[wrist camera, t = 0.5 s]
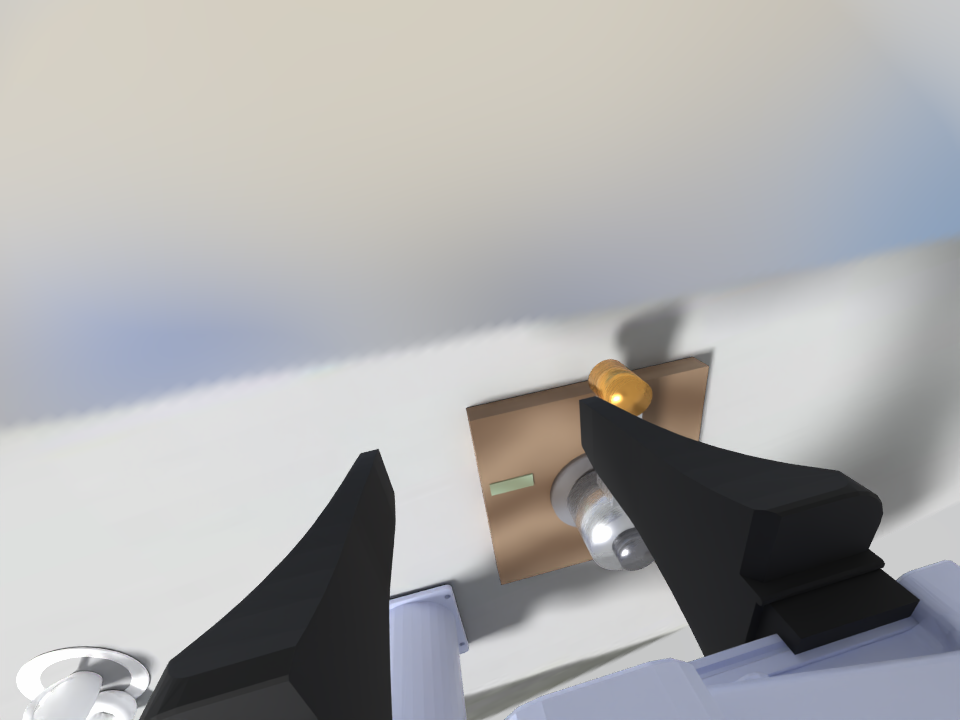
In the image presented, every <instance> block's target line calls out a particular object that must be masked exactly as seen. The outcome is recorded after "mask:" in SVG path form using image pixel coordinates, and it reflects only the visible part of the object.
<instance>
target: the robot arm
mask: <svg viewBox="0 0 960 720" xmlns="http://www.w3.org/2000/svg"><path fill="white" fill-rule="evenodd" d="M579 409H580V428H581V445H582V447H583V449H584V451H585V453H586V455H587V457H588V459H589V461H590V463H591V464H592V466H593V468H594V470H595V471H596V473H597V474H598V475H599V477H600V478H601V480H602V481H603V483H604V484H605V485H606V487H607V488H608V490H609V491H610V492H611V494H612V495H613V497H614V498H615V499H616V501H617V502H618V504H619V505H620V506H621V508H622V509H623V511H624V512H625V513H626V515H627V516H628V517H629V519H630V520H631V522H632V523H633V525H634V526H635V528H636V529H637V531H638V533H639V534H640V536H641V538H642V539H643V541H644V543H645V545H646V546H647V548H648V550H649V552H650V553H651V555H652V557H653V558H654V560H655V562H656V564H657V566H658V568H659V569H660V571H661V573H662V575H663V577H664V578H665V580H666V582H667V584H668V586H669V588H670V589H671V591H672V593H673V595H674V597H675V599H676V601H677V603H678V605H679V607H680V609H681V611H682V613H683V614H684V616H685V618H686V620H687V622H688V624H689V626H690V628H691V630H692V632H693V634H694V636H695V638H696V640H697V642H698V644H699V646H700V648H701V650H702V652H703V655H704V657H703V658H700V659H696V660H693V661H690V662H684V661H680V660H676V659H673V658H667V659H661V660H655V661H649V662H646V663H643V664H640V665H637V666H634V667H631V668H628V669H625V670H622V671H618V672H615V673H612V674H609V675H606V676H603V677H600V678H596V679H594V680H590V681H587V682H584V683H581V684H578V685H575V686H572V687H568V688H565V689H562V690H559V691H556V692H553V693H550V694H547V695H543V696H540V697H538V698H536V699H534V700H532V701H530V702H527V703H525V704H524V705H521V706H519V707H517V708H516V709H515V710H514V711H513V712H512V713H511V714H510V715H509V716H507V718H505V719H504V720H960V566H958V565H957V564H956V563H954V562H953V561H950V560H943V561H940V562H937V563H934V564H931V565H928V566H924V567H921V568H918V569H915V570H912V571H909V572H907V573H905V574H903V575H902V576H901V577H899V578H898V579H897V580H894V579H893V578H892V577H890V576H889V575H888V574H887V573H885V572H884V571H883V570H882V569H880V568H883V567H884V565H885V563H884V561H883V560H882V559H881V558H880V557H878V556H877V555H875V553H873V552H872V551H871V550H869V547H870V544H871V542H872V540H873V538H874V535H875V533H876V531H877V529H878V527H879V524H880V522H881V518H882V515H883V508H882V502H881V500H880V499H879V497H878V496H877V495H876V494H874V493H873V492H871V491H870V490H868V489H866V488H865V487H863V486H862V485H860V484H859V483H857V482H856V481H854V480H852V479H851V478H849V477H848V476H846V475H845V474H843V473H842V472H840V471H836V470H829V469H822V468H815V467H808V466H801V465H794V464H788V463H783V462H778V461H773V460H767V459H762V458H758V457H753V456H749V455H745V454H741V453H737V452H733V451H729V450H725V449H722V448H718V447H715V446H711V445H708V444H705V443H702V442H699V441H696V440H693V439H690V438H687V437H684V436H682V435H679V434H676V433H674V432H672V431H669V430H667V429H664V428H662V427H659V426H657V425H655V424H653V423H650V422H648V421H646V420H644V419H642V418H639V417H637V416H635V415H633V414H631V413H629V412H627V411H625V410H623V409H621V408H619V407H617V406H615V405H613V404H611V403H609V402H607V401H605V400H603V399H601V398H598V397H596V396H593V397H589V398H585V399H581V400H579ZM395 522H396V519H395V495H394V491H393V488H392V485H391V482H390V480H389V477H388V474H387V471H386V468H385V466H384V463H383V460H382V457H381V455H380V452H379V449H377V450H372V451H368V452H364V453H361V454H360V455H359V457H358V458H357V460H356V461H355V463H354V464H353V466H352V468H351V469H350V471H349V472H348V474H347V476H346V477H345V479H344V480H343V482H342V484H341V485H340V487H339V488H338V490H337V491H336V493H335V494H334V496H333V497H332V499H331V500H330V502H329V503H328V505H327V506H326V508H325V509H324V510H323V512H322V513H321V515H320V516H319V517H318V519H317V520H316V521H315V523H314V524H313V525H312V527H311V528H310V529H309V531H308V532H307V533H306V534H305V535H304V537H303V538H302V539H301V540H300V541H299V543H298V544H297V545H296V546H295V547H294V548H293V550H292V551H291V552H290V553H289V554H288V555H287V556H286V557H285V558H284V559H283V561H282V562H281V563H280V564H279V565H278V566H277V567H276V568H275V569H274V570H273V571H272V572H271V573H270V574H269V575H268V576H267V577H266V578H265V579H264V580H263V581H262V582H261V583H260V584H259V585H258V586H257V587H256V588H255V589H254V590H253V591H252V592H251V593H250V594H249V595H248V596H247V597H245V598H244V599H243V600H242V601H241V602H240V603H239V604H238V605H237V606H236V607H234V608H233V609H232V610H231V611H230V612H229V613H228V614H227V615H225V616H224V617H223V618H222V619H221V620H220V621H218V622H217V623H216V624H215V625H214V626H213V627H211V628H210V629H209V630H208V631H206V632H205V633H204V634H203V635H201V636H200V637H199V638H198V639H197V640H195V641H194V642H193V643H192V644H190V645H189V646H188V647H187V648H185V649H184V650H183V651H182V652H180V653H179V654H178V655H177V656H175V657H174V658H173V659H171V660H170V661H169V663H168V665H167V667H166V669H165V670H164V672H163V674H162V676H161V678H160V680H159V682H158V684H157V686H156V688H155V690H154V692H153V694H152V696H151V698H150V699H149V701H148V703H147V705H146V707H145V709H144V711H143V713H142V715H141V717H140V719H139V720H467V718H466V709H465V701H464V692H463V683H462V674H461V665H460V656H459V654H462V653H465V652H467V651H468V650H469V645H468V641H467V638H466V634H465V631H464V628H463V624H462V621H461V617H460V614H459V610H458V607H457V603H456V600H455V597H454V593H453V590H452V587H451V586H450V585H443V586H439V587H436V588H432V589H428V590H425V591H421V592H417V593H414V594H410V595H406V596H403V597H399V598H395V599H392V600H389V599H390V582H391V570H392V559H393V547H394V535H395Z"/></svg>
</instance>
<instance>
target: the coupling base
mask: <svg viewBox="0 0 960 720" xmlns="http://www.w3.org/2000/svg"><path fill="white" fill-rule="evenodd" d="M708 369H709V366H708V365H706V364H705V363H703V362H701V361H699V360H697V359H696V358H694V357H690V358H686V359H681V360H677V361H672V362H668V363H664V364H659V365H655V366H650V367H646V368H642V369H637V370H633V371H632V372H633V373H634V374H636V375H637V376H638V377H639V378H641V379H642V380H643V381H645V382H646V383H647V384H648V385H649V386H650V387H651V389H652V400H651V403H650V405H649V406H648V408H647V409H646V410H645V411H644V412H643V413H642V419H644V420H646V421H648V422H650V423H653V424H655V425H657V426H659V427H662V428H664V429H667V430H669V431H672V432H674V433H676V434H679V435H682V436H684V437H687V438H690V439H693V440H696V441H699V433H700V426H701V419H702V412H703V405H704V398H705V391H706V384H707V377H708ZM593 396H596V394H595V393H594V392H593V391H592V390H591V388H590V387H589V383H588V381H584V382H580V383H575V384H571V385H567V386H562V387H558V388H553V389H549V390H545V391H540V392H536V393H531V394H527V395H522V396H518V397H514V398H509V399H505V400H500V401H496V402H492V403H487V404H483V405H478V406H474V407H470V408H466V410H467V416H468V421H469V426H470V431H471V436H472V441H473V446H474V451H475V456H476V461H477V467H478V472H479V477H480V482H481V487H482V492H483V497H484V502H485V507H486V512H487V517H488V523H489V528H490V533H491V538H492V543H493V548H494V553H495V558H496V563H497V568H498V572H499V577H500V581H501V585H503V584H507V583H511V582H514V581H518V580H521V579H525V578H529V577H532V576H536V575H539V574H543V573H546V572H550V571H554V570H557V569H561V568H564V567H568V566H572V565H575V564H579V563H582V562H586V561H590V560H593V558H592V556H591V554H590V552H589V550H588V548H587V546H586V544H585V542H584V540H583V538H582V536H581V534H580V532H579V531H578V529H577V527H576V525H575V523H574V521H573V519H572V517H571V515H570V513H569V511H568V508H567V498H568V495H569V493H570V491H571V489H572V488H573V486H574V485H575V484H576V483H577V482H578V481H579V480H580V479H581V478H582V477H584V476H585V475H587V474H588V473H590V472H592V471H595V470H594V468H593V466H592V464H591V463H590V461H589V459H588V457H587V455H586V453H585V451H584V449H583V447H582V445H581V428H580V409H579V400H581V399H585V398H589V397H593Z"/></svg>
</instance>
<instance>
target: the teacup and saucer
mask: <svg viewBox="0 0 960 720" xmlns="http://www.w3.org/2000/svg"><path fill="white" fill-rule="evenodd" d="M74 657H98V658H104V659H108V660H112V661H114V662H117V663H119V664H121V665H123V666H124V667H125V668H127V669H128V670H129V672H130V673H131V676H132V681H131V684H130V685H129V687H128V688H127V689H126V690H124V691H118V690H109V691H104V692H100V689H101V685H102V677H101V676H100V675H99V674H97V673H94V672H89V671H81V672H76V673H73V674H71V675H70V676H68V677H66V678H64V679H62V680H60V681H58V682H56V683H54V684H52V685H51V686H49V687H48V688H46V689H45V688H44V687H43V686H42V685H41V683H40V675H41V673H42V671H43V670H44V669H45V668H46V667H48V666H49V665H51V664H53V663H55V662H58V661H60V660H64V659H68V658H74ZM148 684H149V673H148V671H147V669H146V668H145V667H144V666H143V665H142V664H141V663H140V662H139V661H137V660H136V659H134V658H132V657H130V656H128V655H125V654H123V653H120V652H116V651H112V650H107V649H101V648H86V647H82V648H67V649H61V650H56V651H52V652H48V653H45V654H42V655H40V656H38V657H36V658H34V659H32V660H30V661H29V662H27V663H26V664H25V665H24V666H23V667H22V668H21V669H20V671H19V673H18V675H17V686H18V688H19V690H20V691H21V692H22V694H24V695H25V696H26V697H27V698H29V699H30V700H32V702H31V703H30V704H29V705H28V707H27V708H26V710H25V712H24V715H23V720H133V719H134V717H135V714H136V711H137V703H136V701H135V699H136V698H137V697H139V696H140V695H141V694H142V693H143V692H144V691H145V690H146V688H147V687H148ZM55 687H56V688H55ZM54 688H55V689H54ZM52 689H54V690H53V692H52V693H50V691H51V690H52ZM99 692H100V693H99ZM38 704H40V705H41V706H40V707H39V708H38V709H37V711H36V712H35V713H34V711H35V709H36V707H37V705H38ZM104 711H106V712H109V713H112V714H109V713H106V712H104Z"/></svg>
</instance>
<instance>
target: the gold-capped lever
mask: <svg viewBox="0 0 960 720" xmlns="http://www.w3.org/2000/svg"><path fill="white" fill-rule="evenodd" d="M588 383H589V387H590V388H591V390H592V391H593V392H594V393H595V394H596V397H598V398H601V399H603V400H605V401H607V402H609V403H611V404H613V405H615V406H617V407H619V408H621V409H623V410H625V411H627V412H629V413H631V414H633V415H635V416H637V417H639V418H642V413H643V412H644V411H645V410H646V409H647V408H648V406H649V405H650V403H651V400H652V389H651V387H650V386H649V385H648V384H647V383H646V382H645V381H643V380H642V379H641V378H639V377H638V376H637V375H636V374H634V373H633V372H632V371H631V370H629V369H628V368H627V367H625V366H624V365H623V364H622V363H620V362H619V361H617V360H613V359H609V360H604V361H602V362H600V363H599V364H597V365H596V366H595V367H594V368H593V369H592V371H591V372H590V375H589V379H588ZM567 508H568V511H569V513H570V515H571V517H572V519H573V521H574V523H575V525H576V527H577V529H578V531H579V532H580V534H581V536H582V538H583V540H584V542H585V544H586V546H587V548H588V550H589V552H590V554H591V556H592V558H593V560H594V562H595V563H596V564H597V565H598V566H600V567H602V568H604V569H608V570H623V569H626V570H630V571H633V570H639V569H642V568H644V567H646V566H648V565H649V564H650V563H652V562H653V561H654V558H653V557H652V555H651V553H650V552H649V550H648V548H647V546H646V545H645V543H644V541H643V539H642V538H641V536H640V534H639V533H638V531H637V529H636V528H635V526H634V525H633V523H632V522H631V520H630V519H629V517H628V516H627V515H626V513H625V512H624V511H623V509H622V508H621V506H620V505H619V504H618V502H617V501H616V499H615V498H614V497H613V495H612V494H611V492H610V491H609V490H608V488H607V487H606V485H605V484H604V483H603V481H602V480H601V478H600V477H599V475H598V474H597V473H596V471H592V472H590V473H588V474H587V475H585V476H584V477H582V478H581V479H580V480H579V481H578V482H577V483H576V484H575V485H574V486H573V488H572V489H571V491H570V493H569V495H568V498H567Z"/></svg>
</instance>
